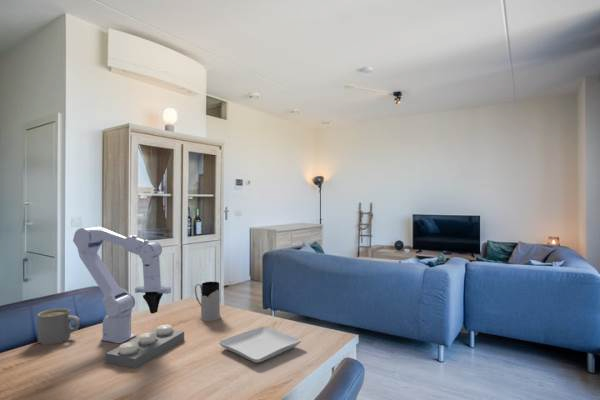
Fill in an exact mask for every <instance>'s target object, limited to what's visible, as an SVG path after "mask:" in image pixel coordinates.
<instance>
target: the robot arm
mask: <svg viewBox="0 0 600 400" xmlns="http://www.w3.org/2000/svg"><path fill="white" fill-rule="evenodd" d="M72 242H73V243H74V245H75V246H76V248H77V251H78V256H79V258H80V260H81V262H82V263H83V264H84V266H85V268H86V270H88V272H89V273H90V276H91V277H92V278H93V280H94V281H95V283H96V284H97V287H99V289H100V291H101V292H102V294H103V295H104V297H103V299H102V304H103V307H104V311H105V313H106V315H105V316H104V317H103V320H102V338H100V340H101V341H105V342H110V343H116V344H123V343H125V342H126V341H127V342H128V340H129V341H130V340H131V339H132V338H133V339H134V338H135V337H136V336H137V334H136V333H132V313H133V309H134V307H135V305H136V298H135V297H134V296H133V294H131V293H130V292H129V291H127V290H128V289H125V288H123V287H120V286H119V285H118V282H116V280H115V278H114V277H113V275H112V274H111V272H110V271H109V269H108V267H107V266H106V265H105V263H104V261H103V260H102V259H101V257H100V255H99V254H98V251H99V250H100V248H101V246H102V245H103V243H104V242H109V243H111V244H112V243H113V244H115V245H118V246H122V248H123V249H122V250H124V251H126V252H128V253H130V254H131V253H132V254H134V255H138V256H139V257H140V259H141V263H142V271H143V273H142V275H143V286H136V287H134V293H135V294H138V293H142V294H143V293H144V294H143V295H142V298H143V299H144V301H145V302H146V304H147V306H148V309H149V310H148V311H149V312H150V314H156V313H158V310H159V304H160V302H161V299H162V297H163V295H164V294H165V295H168V294H171V293H172V288H171V287H169V286H163V285H162V282H161V267H160V263H161V262H160V256H161V254H162V252H163V247H162V245H161V244H160V243H159V242H157V241H151V242H150V241H149V239H143V238H139V237H138V235H135V234H133V235H129V236H124V235H122V234H119V233H117V232H114V231H112V230H109V229H107V228H106V227H102V226H94V227H84V228H83V227H82V228H78V229H77V230H76V231H75V233H74V234H73V239H72Z"/></svg>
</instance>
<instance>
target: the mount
mask: <svg viewBox="0 0 600 400" xmlns="http://www.w3.org/2000/svg"><path fill="white" fill-rule="evenodd" d="M147 333H156V328H154V329H151V330H150V331H147ZM184 340H185V331H184V330H183V331H182V330H178V329H177V330H175V329H173V332H172V333H171V334H169V335H167V336H159V335H157V341H156V342H155V343H152V344H150V345H141V344H139V336H138V337H136V338H133V339H132V340H129V341H128V342H137V343H138V351H137V352H136V353H134V354H132V355H130V356H127V355H120V354H119V346H117V347H115V348H113V349H112V350H110V351H108V352H105V353H104V354H105V360H104V361H105V363H106V364H110V365H116V366H121V367H124V368H125V367H126V368H131V369H137V368H139V367H141V366H142V365H144V364H146V363H147V362H149V361H151V360H153V359H155V358H156V357H158V356H159V355H161V354H163V353H164V352H166V351H168V350H169V349H171V348H173V347H174V346H176V345H177V344H179V343H181V342H182V341H183V342H184Z"/></svg>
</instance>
